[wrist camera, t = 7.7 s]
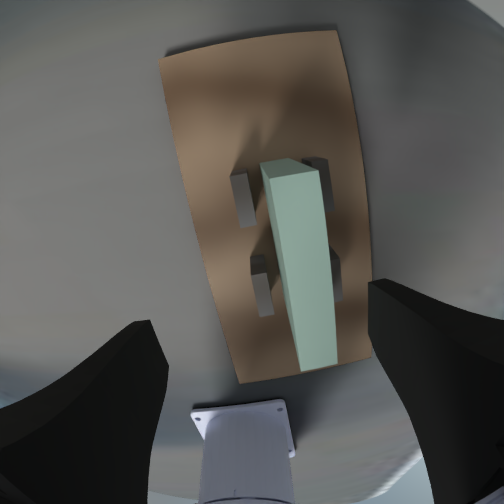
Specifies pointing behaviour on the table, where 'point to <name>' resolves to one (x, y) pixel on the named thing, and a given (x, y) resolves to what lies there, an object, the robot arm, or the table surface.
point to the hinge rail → (252, 189)
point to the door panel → (302, 258)
